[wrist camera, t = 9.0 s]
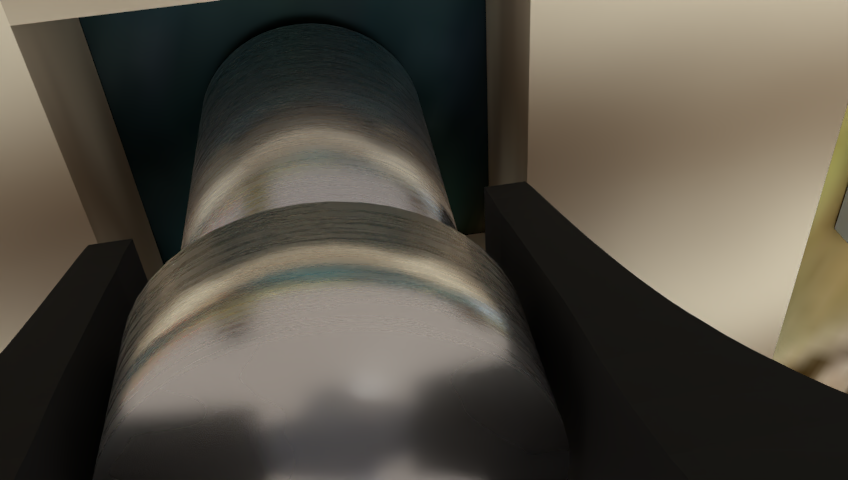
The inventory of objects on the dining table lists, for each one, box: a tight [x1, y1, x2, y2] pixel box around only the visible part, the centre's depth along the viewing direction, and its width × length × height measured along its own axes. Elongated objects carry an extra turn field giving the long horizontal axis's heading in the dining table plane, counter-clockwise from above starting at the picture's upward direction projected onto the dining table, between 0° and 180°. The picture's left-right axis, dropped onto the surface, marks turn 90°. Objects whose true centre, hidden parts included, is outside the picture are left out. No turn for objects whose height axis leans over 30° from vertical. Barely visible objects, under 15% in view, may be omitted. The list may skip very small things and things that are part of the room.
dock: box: [0, 0, 848, 359], centre depth 14 cm, size 14×18×3 cm
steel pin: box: [92, 23, 570, 480], centre depth 12 cm, size 5×5×8 cm
